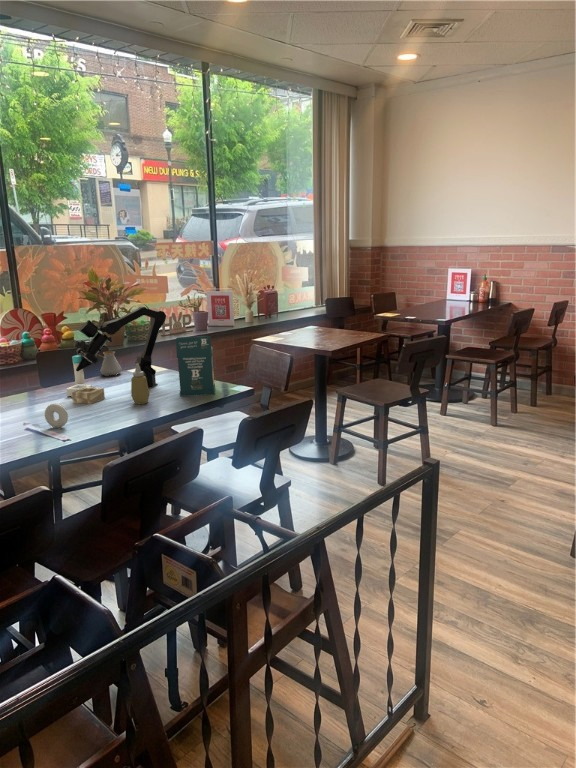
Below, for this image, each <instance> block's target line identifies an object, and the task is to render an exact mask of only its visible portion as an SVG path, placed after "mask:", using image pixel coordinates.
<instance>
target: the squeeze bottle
mask: <svg viewBox="0 0 576 768" xmlns="http://www.w3.org/2000/svg"><path fill="white" fill-rule="evenodd" d="M132 375H133V376H132V377H131V381H130V384H131V385H130V386H131V391H130V393H131V394H130V396H131V399H132V401H133V403H134V404H135V405H143V404H147V403H148V402H149V399H150V390H149V387H148V384H147V379H146V377H145V376H143V375H144V372H143V371H141V370H140V366H139V364H136V363H135V369H134V371H133V372H132Z"/></svg>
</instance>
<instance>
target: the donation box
mask: <svg viewBox="0 0 576 768" xmlns="http://www.w3.org/2000/svg"><path fill="white" fill-rule="evenodd" d="M211 341H212V340H211V336H209V335H203V336H202V335H200V336H183V337H182V336H181V337H180V336H179V337H176V338H175V346H176V347H175V349H176V358H177V365H178V366H177V367H178V368H177V369H178V378H179V380H178V381H179V397H192V396H194V397H195V396H212V395H213V396H215V393H216V392H215V391H216V384H215V375H214V374H215V373H214V361H213V359H214V358H213V352H214V351H213V350H214V349H213V346H212V343H211Z"/></svg>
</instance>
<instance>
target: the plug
mask: <svg viewBox="0 0 576 768" xmlns="http://www.w3.org/2000/svg"><path fill="white" fill-rule="evenodd" d="M71 358H72V364H73V372H74V380H75V385H77V384H78V385H84V384H85V373H84V368H83V369H81V370H80V371H76V369H77V367H78V365H79V363H80V362H81V356H80V355H77V354H76V355H73V356H71Z"/></svg>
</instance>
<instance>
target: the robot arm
mask: <svg viewBox="0 0 576 768" xmlns="http://www.w3.org/2000/svg"><path fill="white" fill-rule="evenodd" d="M143 316H146V317H147V318H148V317H149V318H150V319H149V323H150V325H149V326H150V328H149V331H148V334H147V337H146V341H145V344H144V347H143V351H142V353H141V355H137V356H136V360H135V362H134V363H135V365H136V364H139V366H140V370H141V371H143V372H144V375H143V376H145V377H146V379H147V384H148V388H154V387H156V386H158V384H159V383H157V381H156V380H157V379H156V372H157V370H156V369H154V368H153V367H152V362H153V361H152V360H153V359H152V356H153V352H154V348H155V345H156V342H157V339H158V335H159V332H160V329H161V328H162V326H163V325H164V323H165V322H166V320H167V315H166V313H165V312H164V311H163V310H158V309H151V308H148V307H145V306H139V307H138V308H136V309H134V310H132V311H131V312H128V313H126V314H124V315H123V316H121V317H119V318H116V319H111V320H108V321H104V323H102V324H100V325H95V324H94V323H93V322H92V321H91V320H89V319H87V320H86V321H85V322H84V323H83V324H82V325H81V326H80V327H79V329H78V331H79V332H80V333H82V335H84V336H86V337H87V339H90V338H92V339H91V341H87V342H86V341H85V340H83V339H82V340H77V339H75V340H74V342H73V347H74V348H76V351H75V352H76V356H77V355H80V356H81V362H80V363H79V365H78V367H77V369H76V371H80V370H81V369H83V370H84V369H85V368H87V367H89V366H91V365H93V364H94V365H97V363H99V359H98V358H97V357H96V354H98V353H99V352H101V351H102V348H103V346H104V345H105V344H106V343H107V342H108V343H113V341H112V336H113V335H115V334H116V333H118V331H120V330H121V329H122V328H123V327H124V326H127V325H128V324H130V323H132V322H134V321H136V320H138V319H140V318H141V317H143ZM101 332H102V333H101ZM108 335H110V336H108Z"/></svg>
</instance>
